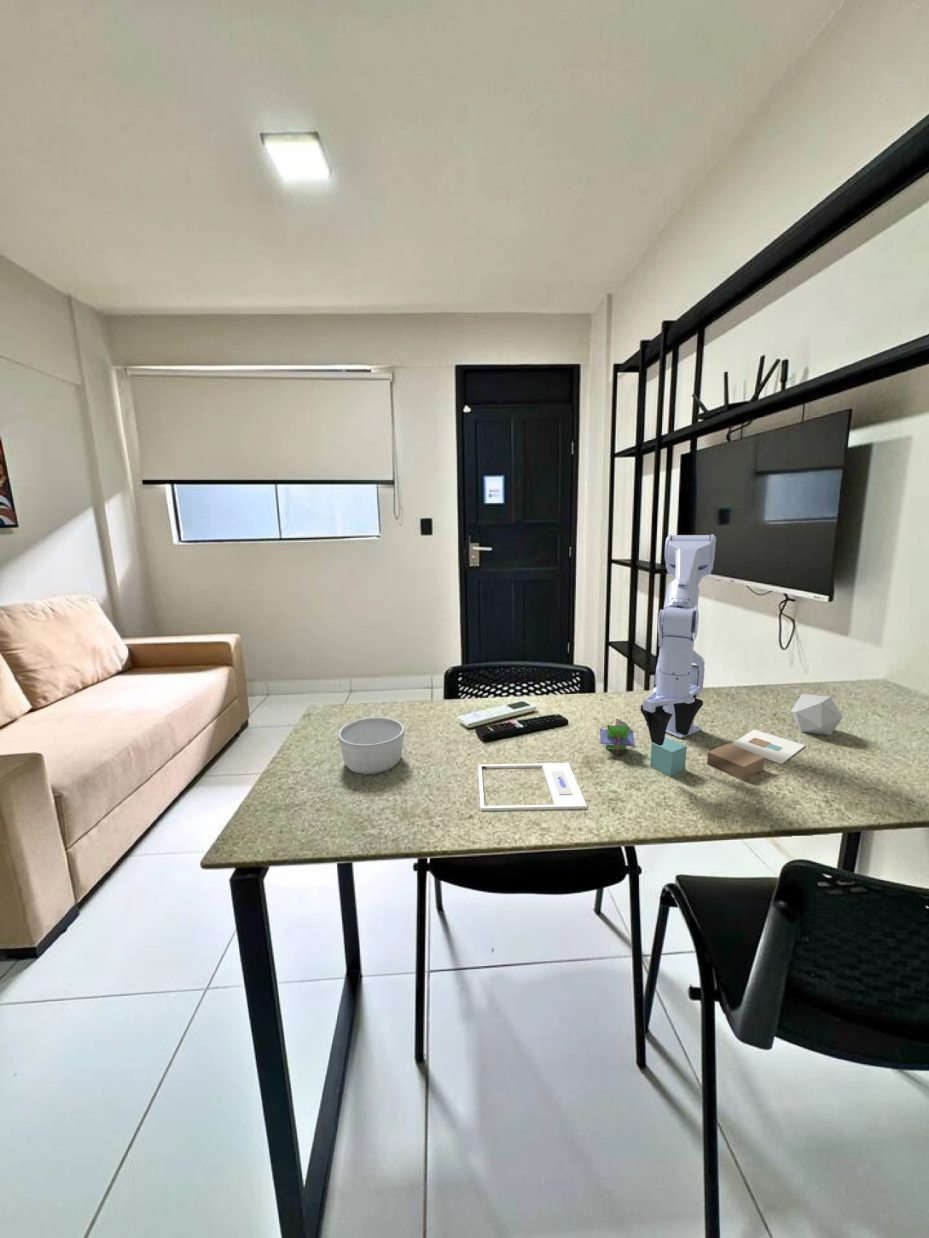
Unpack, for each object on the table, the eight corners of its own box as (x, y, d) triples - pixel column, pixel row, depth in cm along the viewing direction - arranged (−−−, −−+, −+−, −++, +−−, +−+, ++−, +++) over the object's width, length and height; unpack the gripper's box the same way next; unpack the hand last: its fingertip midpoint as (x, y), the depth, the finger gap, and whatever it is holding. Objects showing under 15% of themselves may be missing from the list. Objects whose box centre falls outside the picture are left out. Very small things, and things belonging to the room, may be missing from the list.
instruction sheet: (728, 745, 102) (729, 744, 102) (754, 730, 109) (754, 729, 109) (781, 764, 94) (781, 762, 94) (805, 746, 101) (805, 744, 101)
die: (834, 729, 110) (807, 689, 113) (860, 726, 102) (831, 683, 105) (800, 744, 110) (775, 703, 113) (824, 742, 101) (796, 698, 105)
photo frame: (587, 805, 81) (480, 807, 81) (586, 810, 81) (480, 813, 81) (568, 761, 96) (477, 763, 96) (568, 767, 96) (478, 768, 96)
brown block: (706, 765, 95) (708, 751, 94) (727, 756, 98) (728, 743, 98) (742, 781, 89) (743, 767, 88) (762, 771, 93) (764, 757, 92)
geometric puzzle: (637, 755, 94) (636, 715, 98) (601, 752, 96) (601, 713, 99) (632, 761, 101) (631, 723, 104) (598, 758, 102) (598, 721, 105)
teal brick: (650, 766, 95) (651, 743, 94) (664, 760, 97) (666, 737, 96) (670, 776, 91) (672, 752, 90) (684, 769, 93) (686, 745, 92)
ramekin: (415, 750, 103) (413, 719, 102) (389, 782, 91) (387, 748, 89) (359, 743, 107) (357, 714, 105) (327, 773, 94) (324, 741, 93)
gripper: (669, 684, 83) (663, 756, 85) (717, 669, 90) (711, 736, 93) (635, 673, 89) (631, 741, 91) (683, 660, 96) (678, 724, 99)
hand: (669, 738), depth 92 cm, fingers open, 7 cm apart
